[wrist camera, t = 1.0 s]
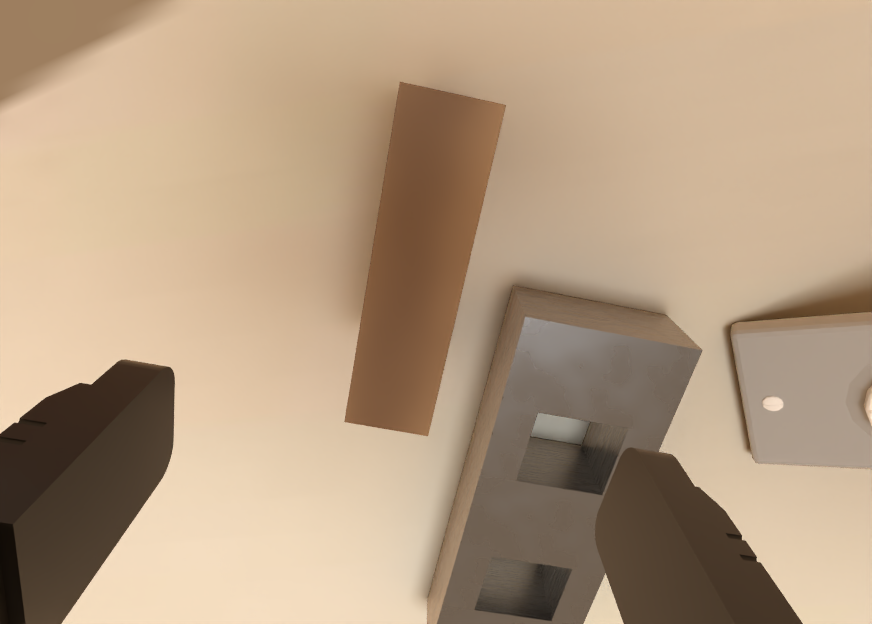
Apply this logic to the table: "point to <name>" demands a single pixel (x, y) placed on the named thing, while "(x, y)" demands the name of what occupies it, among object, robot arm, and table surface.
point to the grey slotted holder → (553, 456)
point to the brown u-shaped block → (420, 254)
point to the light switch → (807, 389)
